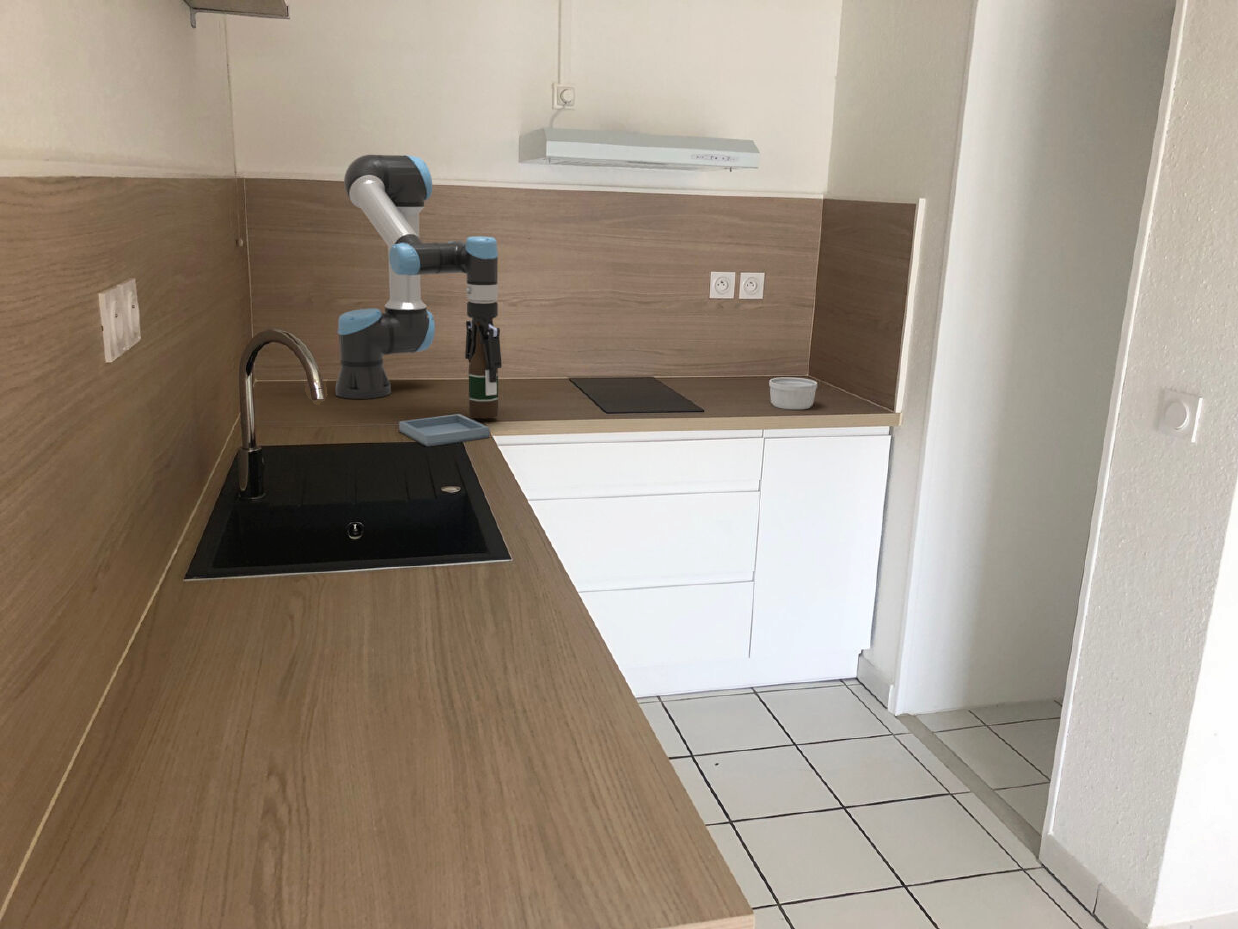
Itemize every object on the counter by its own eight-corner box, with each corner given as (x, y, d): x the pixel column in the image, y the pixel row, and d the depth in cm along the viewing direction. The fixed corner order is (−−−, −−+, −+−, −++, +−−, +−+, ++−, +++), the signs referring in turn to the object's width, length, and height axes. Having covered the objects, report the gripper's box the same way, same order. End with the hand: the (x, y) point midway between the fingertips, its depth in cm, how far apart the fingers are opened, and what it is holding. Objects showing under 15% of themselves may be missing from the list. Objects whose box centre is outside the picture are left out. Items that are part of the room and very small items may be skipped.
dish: (399, 431, 237) (399, 421, 236) (459, 423, 246) (459, 413, 245) (427, 446, 224) (426, 436, 224) (489, 437, 233) (489, 427, 232)
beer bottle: (493, 419, 245) (492, 324, 238) (463, 417, 247) (462, 322, 240) (503, 412, 252) (502, 320, 245) (474, 410, 254) (473, 318, 247)
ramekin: (769, 399, 281) (770, 375, 279) (815, 402, 279) (817, 378, 277) (766, 409, 269) (768, 384, 267) (815, 412, 266) (817, 387, 264)
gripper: (450, 296, 247) (452, 384, 254) (488, 307, 231) (489, 401, 238) (476, 295, 251) (478, 382, 258) (516, 305, 235) (516, 398, 242)
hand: (483, 391), depth 248 cm, fingers closed on beer bottle, 8 cm apart
